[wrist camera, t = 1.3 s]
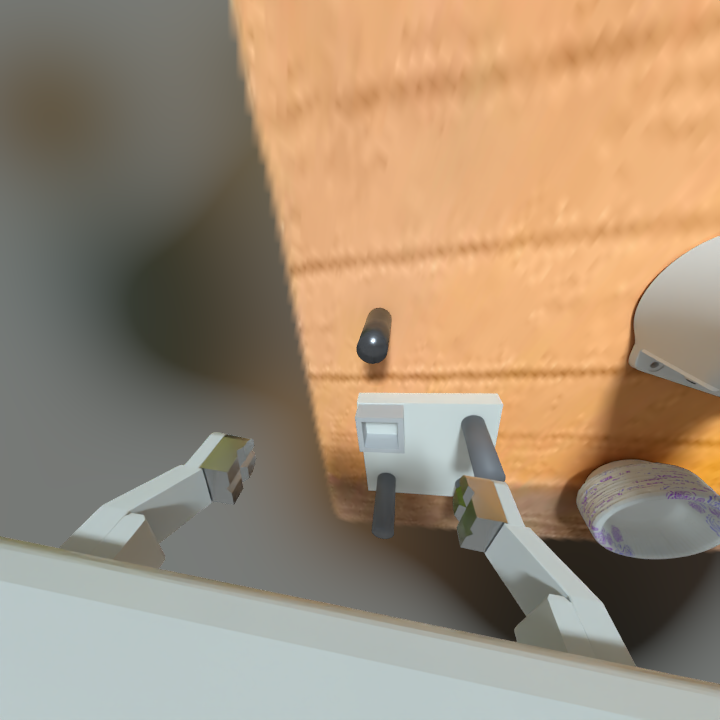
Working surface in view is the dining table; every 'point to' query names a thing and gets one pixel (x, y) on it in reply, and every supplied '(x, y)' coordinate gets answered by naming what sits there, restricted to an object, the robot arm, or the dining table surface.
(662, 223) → the dining table surface
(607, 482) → the paper bowls
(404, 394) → the stool seat
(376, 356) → the stool leg
